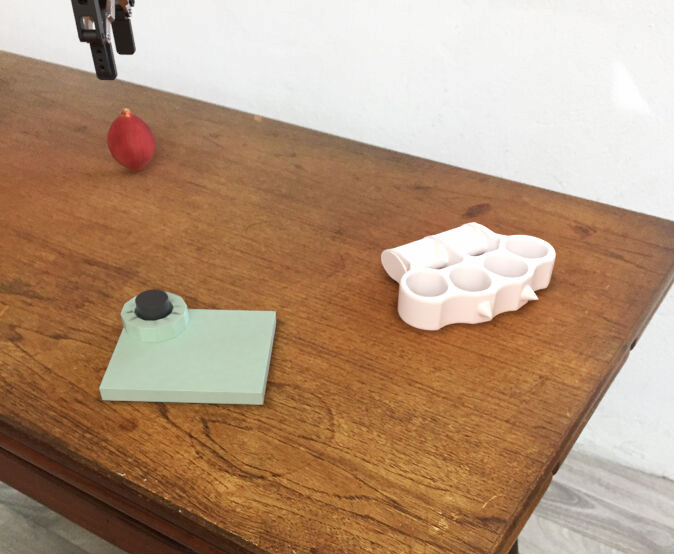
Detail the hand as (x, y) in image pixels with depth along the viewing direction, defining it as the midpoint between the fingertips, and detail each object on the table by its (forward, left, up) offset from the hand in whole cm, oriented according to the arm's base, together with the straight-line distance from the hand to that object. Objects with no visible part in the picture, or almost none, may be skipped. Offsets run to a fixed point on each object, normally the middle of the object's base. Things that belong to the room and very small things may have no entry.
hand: (117, 66), depth 86 cm
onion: (0, 0, -13) cm, 13 cm away
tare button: (+10, -34, -10) cm, 37 cm away
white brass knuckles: (+40, -25, -13) cm, 49 cm away
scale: (+14, -38, -13) cm, 42 cm away
